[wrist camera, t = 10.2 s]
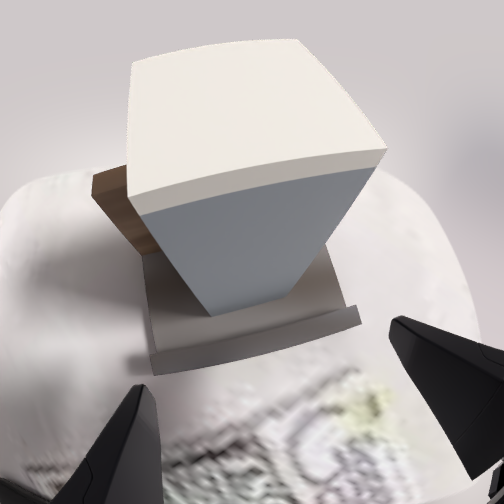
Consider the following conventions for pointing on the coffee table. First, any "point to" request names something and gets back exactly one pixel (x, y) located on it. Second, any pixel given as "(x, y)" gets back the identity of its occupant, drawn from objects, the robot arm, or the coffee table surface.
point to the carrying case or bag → (17, 494)
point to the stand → (226, 325)
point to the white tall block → (243, 164)
